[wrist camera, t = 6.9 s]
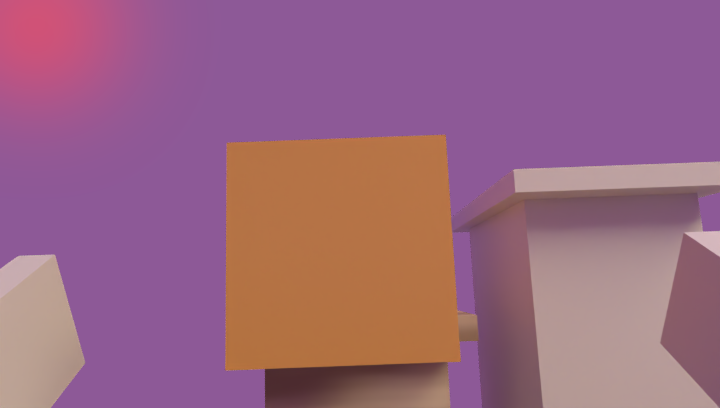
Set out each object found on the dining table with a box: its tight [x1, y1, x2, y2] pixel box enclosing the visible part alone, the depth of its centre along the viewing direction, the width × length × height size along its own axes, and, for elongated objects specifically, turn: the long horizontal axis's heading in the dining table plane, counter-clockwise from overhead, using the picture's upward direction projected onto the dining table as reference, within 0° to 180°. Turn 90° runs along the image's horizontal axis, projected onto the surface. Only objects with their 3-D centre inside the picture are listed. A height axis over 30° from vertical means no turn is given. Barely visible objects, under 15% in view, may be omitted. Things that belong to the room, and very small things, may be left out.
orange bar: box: [225, 135, 461, 370], centre depth 22 cm, size 26×5×5 cm, turn 0°
